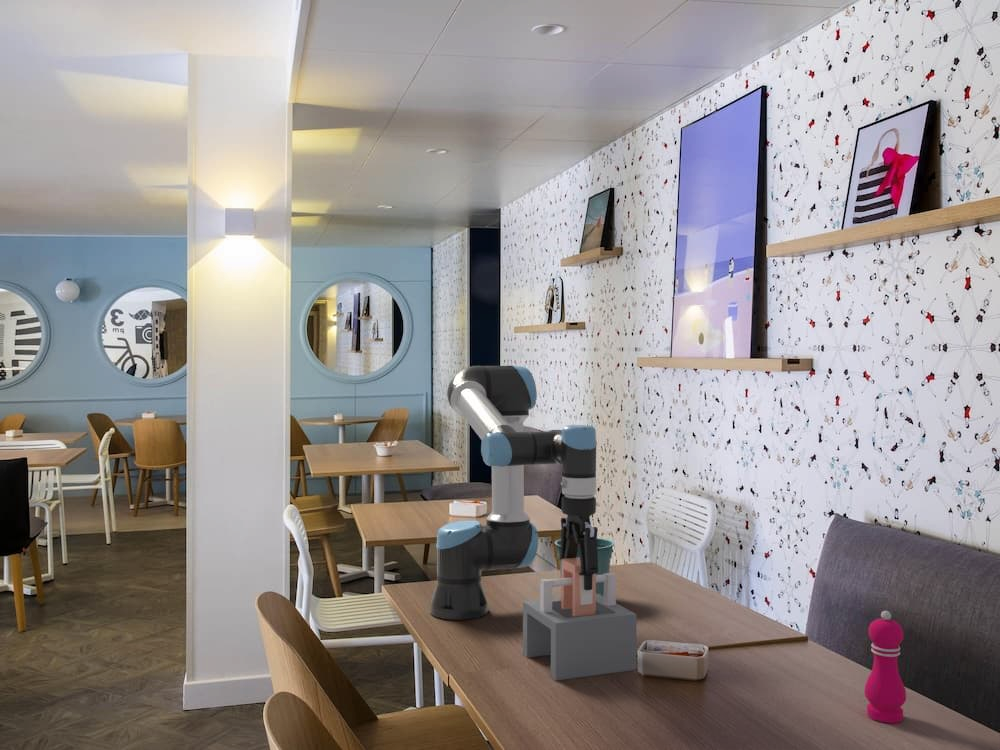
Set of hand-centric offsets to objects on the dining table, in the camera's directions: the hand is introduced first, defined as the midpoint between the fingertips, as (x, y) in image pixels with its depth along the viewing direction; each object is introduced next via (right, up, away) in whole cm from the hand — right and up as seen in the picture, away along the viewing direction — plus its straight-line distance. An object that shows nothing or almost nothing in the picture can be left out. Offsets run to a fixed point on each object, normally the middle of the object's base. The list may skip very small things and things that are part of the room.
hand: (578, 599), depth 202 cm
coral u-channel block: (0, -3, 0) cm, 3 cm away
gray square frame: (0, -14, 0) cm, 14 cm away
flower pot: (+6, -13, +51) cm, 53 cm away
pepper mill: (+55, -15, -30) cm, 64 cm away
